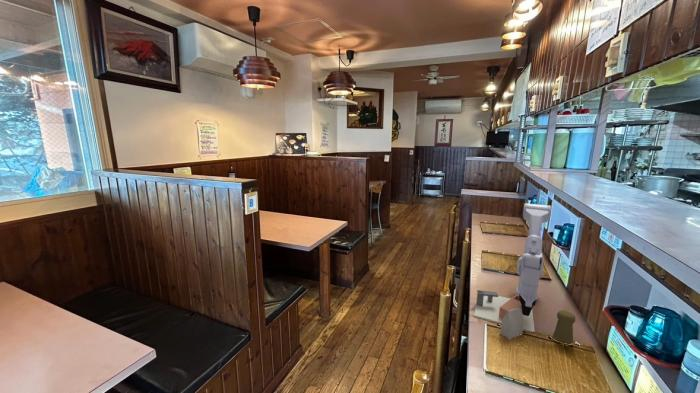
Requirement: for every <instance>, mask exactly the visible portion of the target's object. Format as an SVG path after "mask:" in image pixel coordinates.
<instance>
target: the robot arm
mask: <svg viewBox="0 0 700 393" xmlns="http://www.w3.org/2000/svg"><path fill="white" fill-rule="evenodd" d="M522 210H523V211H522V218H523V220H524V221H527V222H528V224H529V225H528V233H527V234H528V235H527V236H526V238H525V242H524V251H523V253H522V256H519V258H518V260H517V265H516V266H517V267H516V273H517V275H518V286H516V291H515V294H516V295H518V296H519V300H520V302H521V305H522V314H523V315H526V316H529V315H530V312H531V310H532V311H533V309H534V307H535V306H536V305H537V301H538V291H539V290H538V288H539V283H540V282H539V280H540V279H542V278H543V269H544V265H543V264H544V262H543V260H544V257H543V239H542V238H541V237H540V235H541V230H542V225H543V224H545V223H548V222H549V221H550V220H551V216H552V215H551V214H552V206H551V205H550V204H549V205H546V204H536V203H527V202H525V203H524V205H523V209H522Z"/></svg>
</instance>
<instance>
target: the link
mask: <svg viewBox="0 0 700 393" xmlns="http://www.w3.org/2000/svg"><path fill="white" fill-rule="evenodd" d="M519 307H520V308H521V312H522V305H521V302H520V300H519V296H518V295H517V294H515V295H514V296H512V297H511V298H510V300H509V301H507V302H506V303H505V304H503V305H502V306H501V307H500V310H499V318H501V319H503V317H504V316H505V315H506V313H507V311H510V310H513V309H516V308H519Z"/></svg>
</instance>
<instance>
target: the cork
mask: <svg viewBox="0 0 700 393" xmlns="http://www.w3.org/2000/svg"><path fill="white" fill-rule="evenodd" d="M556 318H557V321H556V325H555V327H554V331H553V335H552V337H553V338H554V339H555V340H557V341H559V342H562V343H567V344H571V343H573V344H574V328H573V326H574V324H575V323H576V316H575V314H573V313H572V312H571V311H568V310H559V311H558V312H557V313H556ZM553 338H552V339H553Z"/></svg>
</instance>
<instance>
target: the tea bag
mask: <svg viewBox="0 0 700 393" xmlns="http://www.w3.org/2000/svg"><path fill="white" fill-rule="evenodd" d="M523 324H524V319H523V316H522V312H521V308H520V307H519V308H516V309H513V310H510V311H507V313H506V315H505V316H504V317H503V319H502V324H501V326H500V333H502V334H503V335H505V336H506V337H507V338H506V337H505V336H504V337H505V338H506V339H508V338H509V339H510V340H512V339H511V338H513V337H515V338H517V337H516V336H518V335H520V334H522V335H523V332H524V330H523ZM502 334H501V335H502ZM503 335H502V336H503ZM518 337H519V336H518ZM509 339H508V340H509ZM513 339H514V338H513Z"/></svg>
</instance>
